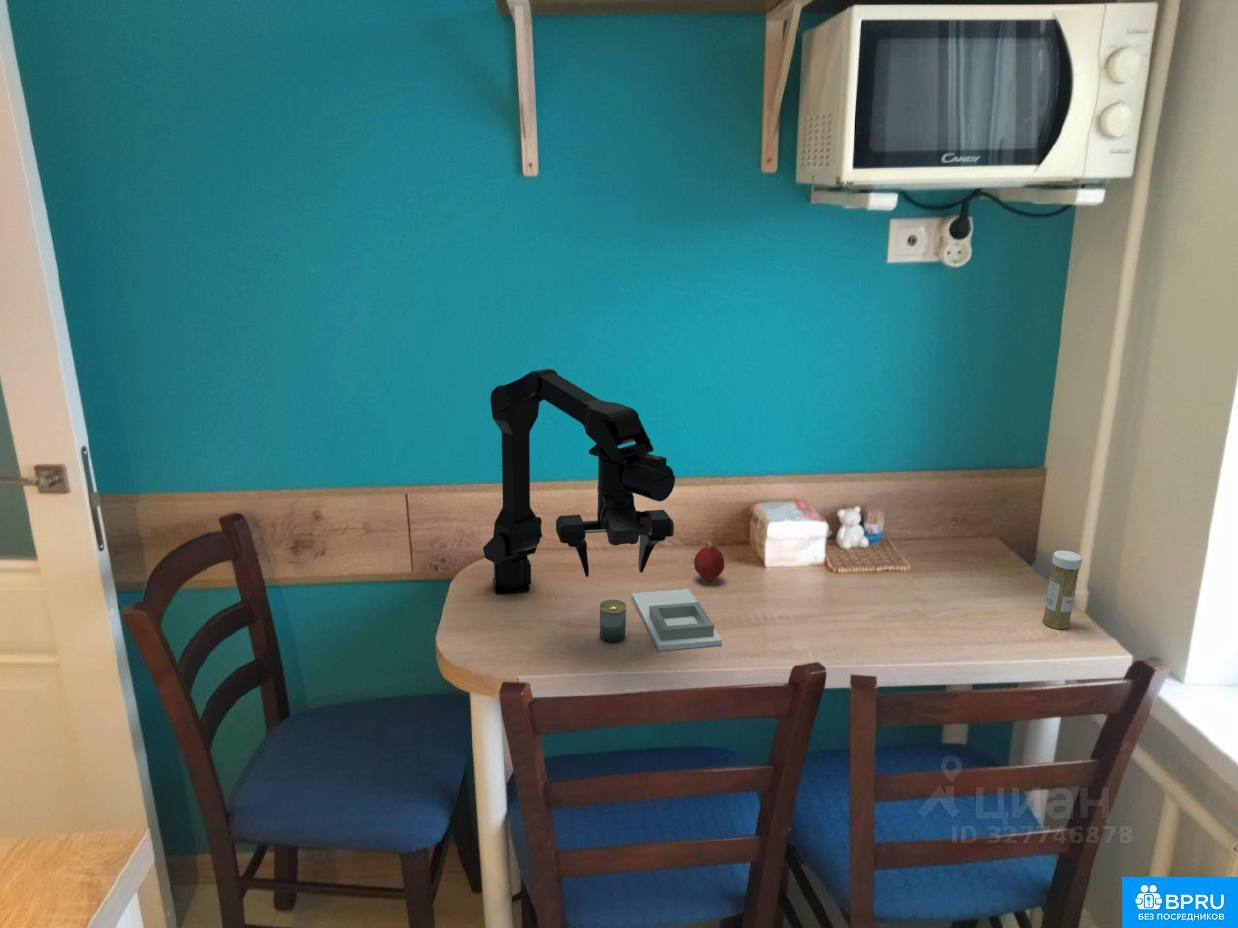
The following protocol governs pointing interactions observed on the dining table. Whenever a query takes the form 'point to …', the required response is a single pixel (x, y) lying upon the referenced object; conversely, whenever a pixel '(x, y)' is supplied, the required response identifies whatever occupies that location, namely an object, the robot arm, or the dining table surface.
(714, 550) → the onion
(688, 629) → the dock
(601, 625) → the lidded tin can
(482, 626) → the dining table surface
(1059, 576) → the sprinkles bottle
